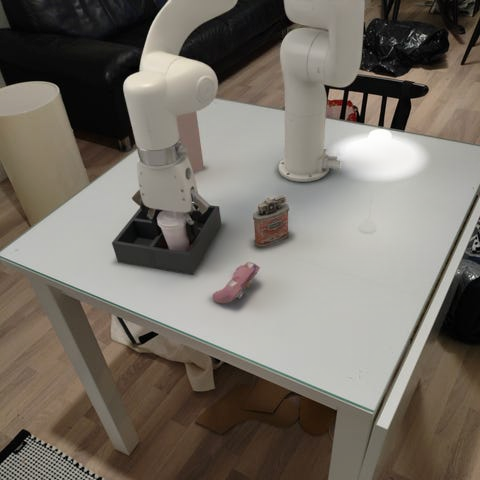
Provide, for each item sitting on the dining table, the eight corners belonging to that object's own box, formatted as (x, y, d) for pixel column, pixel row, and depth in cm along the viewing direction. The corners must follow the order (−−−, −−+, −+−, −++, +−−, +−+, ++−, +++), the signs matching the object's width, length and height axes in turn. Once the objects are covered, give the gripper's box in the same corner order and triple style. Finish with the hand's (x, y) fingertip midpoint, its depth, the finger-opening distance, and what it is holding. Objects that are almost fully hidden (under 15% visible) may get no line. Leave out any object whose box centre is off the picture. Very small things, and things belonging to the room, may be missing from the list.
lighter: (259, 250, 101) (257, 210, 93) (251, 242, 103) (249, 202, 96) (292, 238, 103) (292, 197, 96) (283, 230, 105) (283, 189, 98)
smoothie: (191, 265, 98) (180, 207, 87) (161, 263, 99) (147, 205, 89) (199, 246, 102) (189, 188, 92) (170, 244, 103) (158, 186, 93)
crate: (221, 225, 108) (219, 206, 104) (193, 275, 97) (189, 255, 93) (152, 216, 112) (148, 197, 109) (117, 262, 101) (111, 242, 98)
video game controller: (228, 314, 91) (240, 296, 85) (209, 299, 91) (219, 280, 85) (254, 283, 96) (267, 264, 90) (237, 269, 96) (248, 249, 90)
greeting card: (204, 166, 126) (196, 109, 116) (203, 181, 121) (195, 123, 111) (160, 169, 127) (149, 113, 116) (158, 184, 122) (146, 126, 111)
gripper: (213, 144, 84) (223, 229, 97) (125, 136, 88) (146, 218, 101) (197, 166, 79) (210, 252, 92) (105, 156, 83) (129, 239, 96)
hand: (176, 233), depth 96 cm, fingers closed on smoothie, 6 cm apart
